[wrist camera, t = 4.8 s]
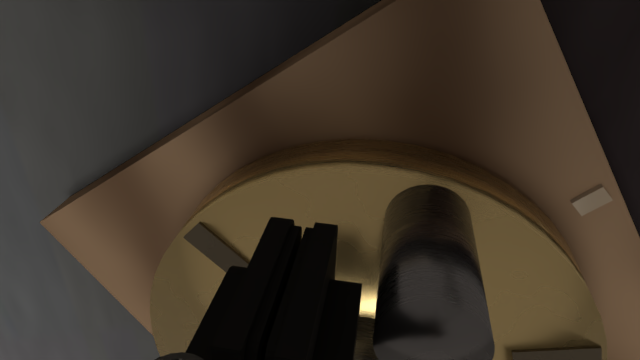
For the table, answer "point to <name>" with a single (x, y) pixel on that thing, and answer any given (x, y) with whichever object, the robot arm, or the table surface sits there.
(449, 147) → the base plate
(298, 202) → the rotary dial
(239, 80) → the table surface
